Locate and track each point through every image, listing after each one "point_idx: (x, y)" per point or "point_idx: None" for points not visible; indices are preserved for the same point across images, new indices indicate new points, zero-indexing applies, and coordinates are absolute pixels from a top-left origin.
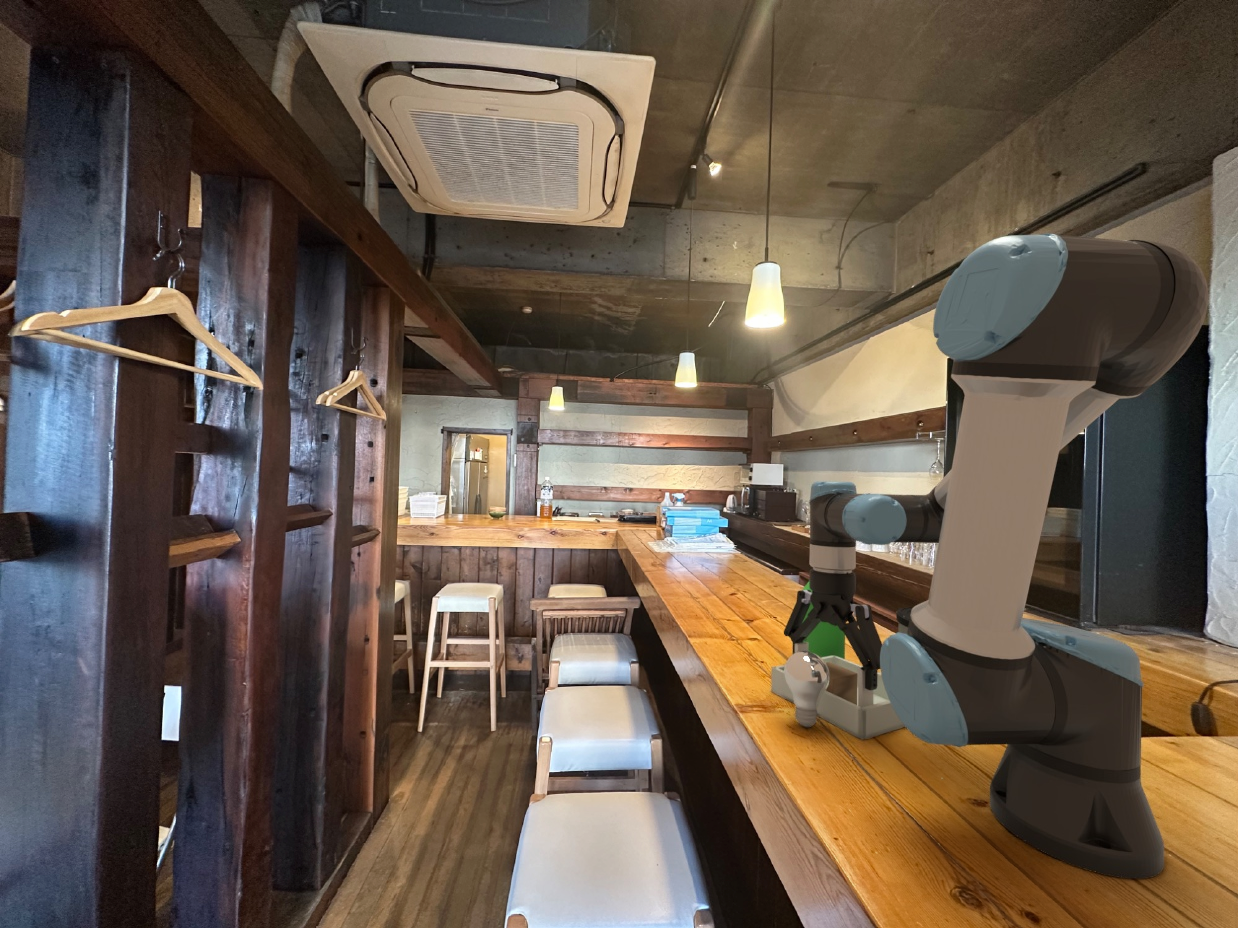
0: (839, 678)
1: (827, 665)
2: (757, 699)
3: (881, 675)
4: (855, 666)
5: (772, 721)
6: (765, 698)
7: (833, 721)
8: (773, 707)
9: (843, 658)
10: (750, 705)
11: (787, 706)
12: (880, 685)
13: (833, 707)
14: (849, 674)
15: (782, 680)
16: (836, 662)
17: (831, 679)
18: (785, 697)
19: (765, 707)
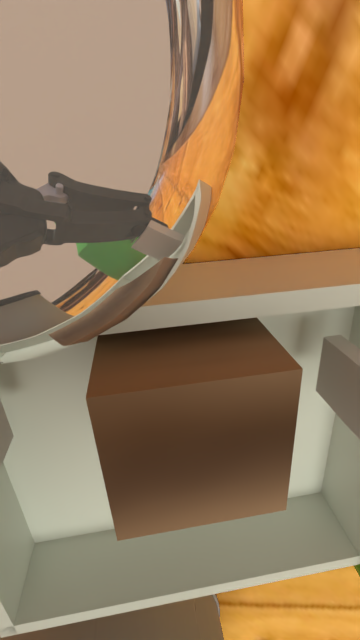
0: (94, 437)
1: (257, 480)
2: (357, 130)
3: (168, 593)
4: (270, 568)
5: None
6: (344, 175)
7: None
8: (269, 144)
9: (357, 569)
10: (335, 41)
11: (249, 213)
12: (168, 554)
13: None
14: (117, 505)
15: (357, 268)
16: (339, 540)
17: (98, 391)
18: (302, 255)
19: (286, 105)
